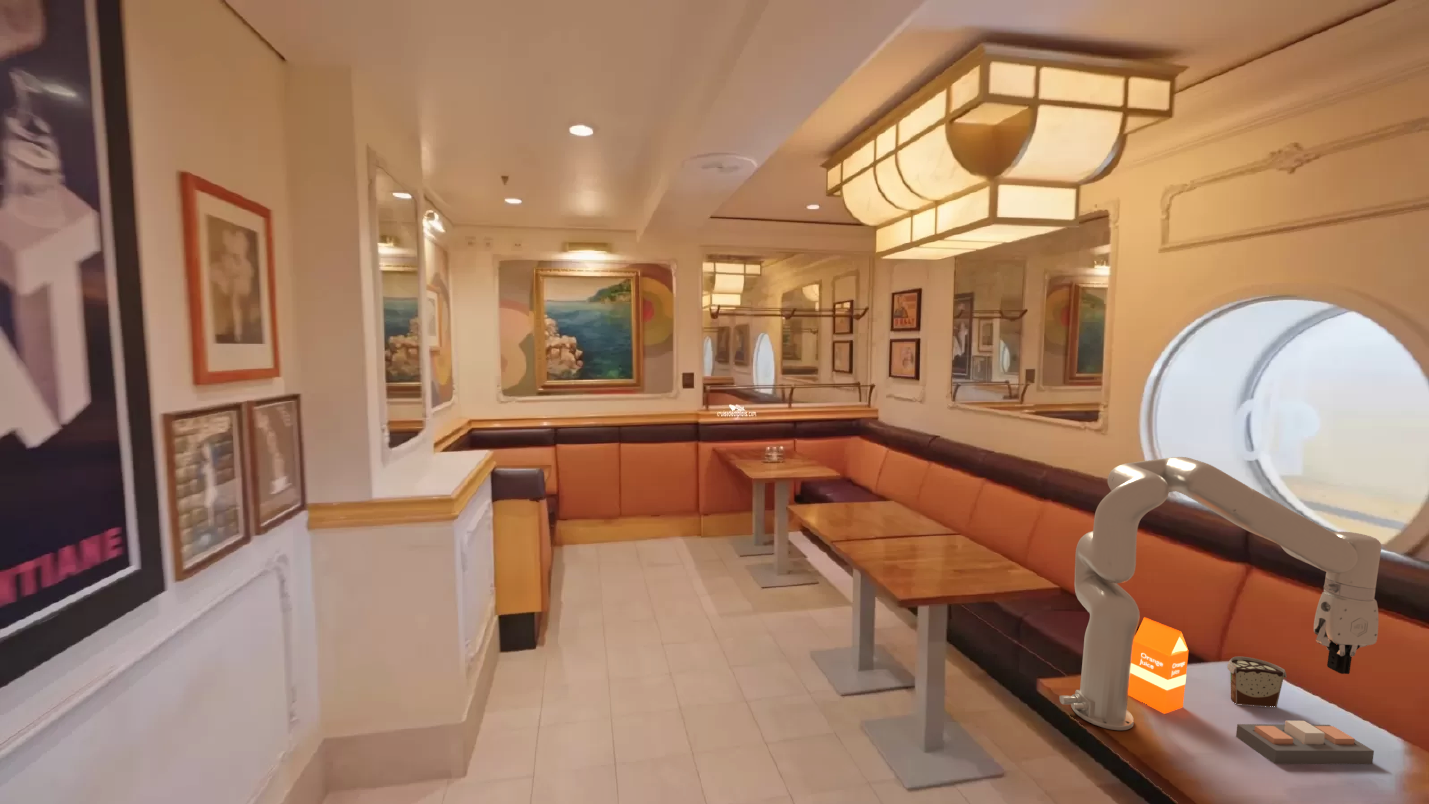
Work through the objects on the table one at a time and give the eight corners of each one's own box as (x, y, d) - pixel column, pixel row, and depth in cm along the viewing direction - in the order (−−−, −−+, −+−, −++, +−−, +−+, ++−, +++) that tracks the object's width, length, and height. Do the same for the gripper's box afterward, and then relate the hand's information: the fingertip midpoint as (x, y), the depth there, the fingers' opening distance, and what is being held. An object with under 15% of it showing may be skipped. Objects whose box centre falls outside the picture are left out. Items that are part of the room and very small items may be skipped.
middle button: (1303, 750, 130) (1305, 733, 130) (1283, 737, 135) (1285, 720, 134) (1322, 750, 130) (1324, 733, 130) (1302, 737, 135) (1304, 720, 134)
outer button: (1333, 756, 131) (1335, 738, 130) (1312, 743, 135) (1314, 726, 135) (1352, 756, 131) (1354, 738, 131) (1331, 743, 135) (1333, 726, 135)
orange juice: (1164, 714, 145) (1172, 634, 143) (1126, 694, 153) (1133, 619, 151) (1183, 707, 148) (1191, 629, 146) (1145, 688, 156) (1152, 614, 154)
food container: (1262, 694, 155) (1267, 657, 154) (1283, 708, 149) (1287, 670, 148) (1211, 690, 156) (1215, 653, 155) (1229, 704, 150) (1233, 665, 149)
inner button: (1272, 756, 130) (1274, 738, 130) (1253, 742, 134) (1255, 725, 134) (1291, 756, 130) (1293, 738, 130) (1271, 742, 135) (1273, 726, 134)
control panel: (1274, 763, 128) (1275, 750, 127) (1235, 736, 137) (1237, 724, 136) (1372, 764, 129) (1374, 750, 128) (1327, 737, 138) (1329, 724, 137)
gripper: (1334, 596, 126) (1323, 679, 128) (1402, 598, 127) (1390, 680, 128) (1298, 582, 134) (1288, 661, 135) (1362, 584, 134) (1351, 662, 136)
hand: (1337, 670), depth 132 cm, fingers closed
